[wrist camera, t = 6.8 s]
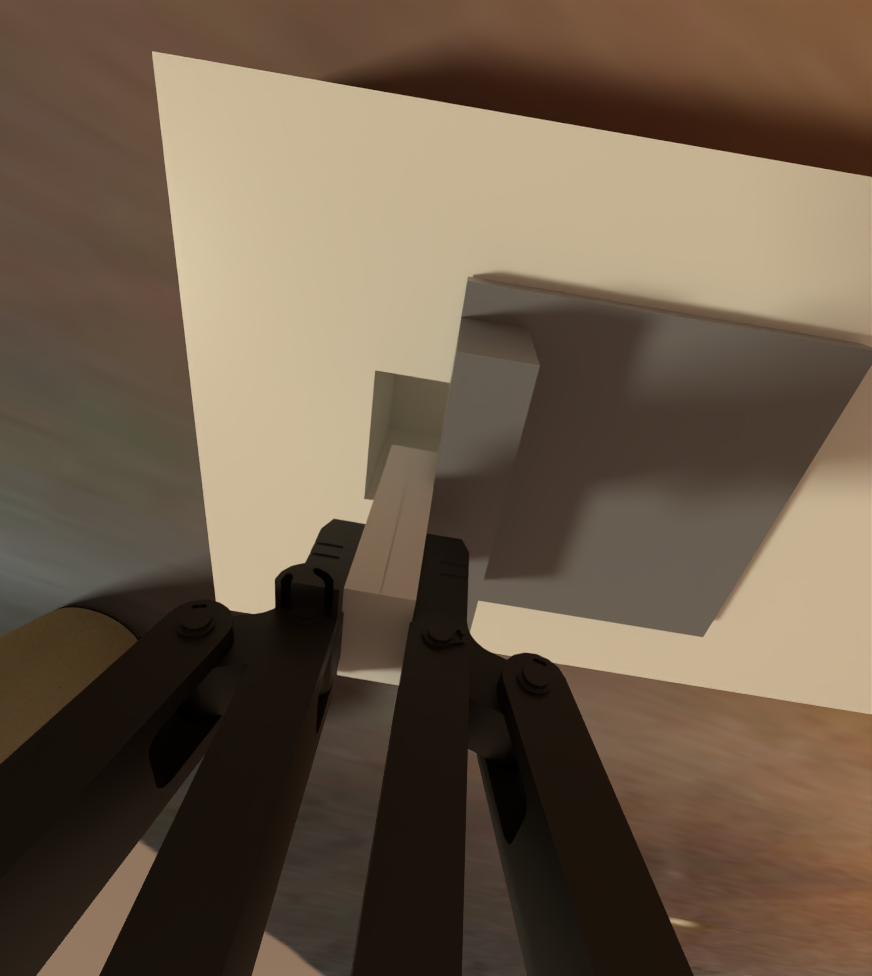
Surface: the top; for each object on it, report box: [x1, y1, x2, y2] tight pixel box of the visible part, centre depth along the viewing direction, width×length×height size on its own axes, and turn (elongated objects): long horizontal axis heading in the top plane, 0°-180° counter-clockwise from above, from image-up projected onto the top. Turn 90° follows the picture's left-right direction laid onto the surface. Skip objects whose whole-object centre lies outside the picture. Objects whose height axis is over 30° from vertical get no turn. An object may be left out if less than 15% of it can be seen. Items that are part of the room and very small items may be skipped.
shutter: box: [427, 276, 872, 637], centre depth 16 cm, size 12×12×4 cm
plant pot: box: [0, 607, 138, 764], centre depth 31 cm, size 15×15×16 cm
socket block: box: [152, 51, 872, 714], centre depth 22 cm, size 32×20×8 cm, turn 82°
